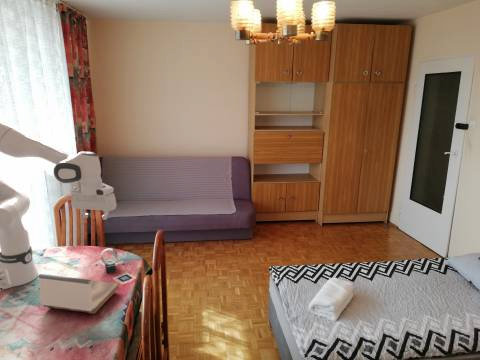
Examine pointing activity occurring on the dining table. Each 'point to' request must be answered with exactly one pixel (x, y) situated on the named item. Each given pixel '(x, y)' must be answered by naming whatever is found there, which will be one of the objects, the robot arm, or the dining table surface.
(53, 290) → the panel
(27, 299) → the dining table surface
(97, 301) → the brown flat block
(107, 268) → the watch
